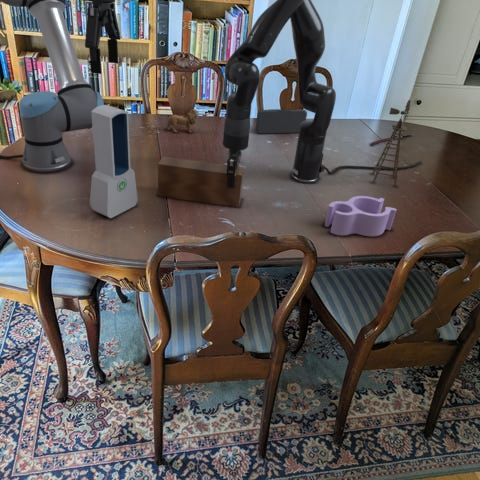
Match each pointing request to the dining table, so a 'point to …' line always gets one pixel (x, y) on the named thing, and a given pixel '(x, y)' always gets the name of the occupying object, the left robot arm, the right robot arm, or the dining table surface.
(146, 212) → the dining table surface
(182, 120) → the lion figurine
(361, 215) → the clip
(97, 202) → the electronic device
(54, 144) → the left robot arm
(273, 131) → the handheld gaming console
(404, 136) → the sword
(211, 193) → the box
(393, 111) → the miniature windmill
